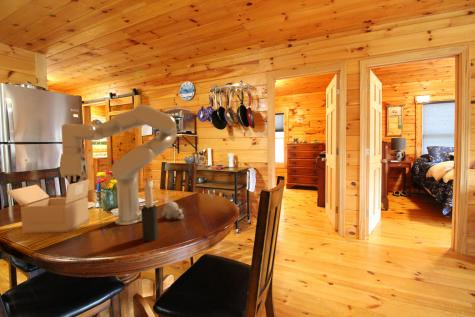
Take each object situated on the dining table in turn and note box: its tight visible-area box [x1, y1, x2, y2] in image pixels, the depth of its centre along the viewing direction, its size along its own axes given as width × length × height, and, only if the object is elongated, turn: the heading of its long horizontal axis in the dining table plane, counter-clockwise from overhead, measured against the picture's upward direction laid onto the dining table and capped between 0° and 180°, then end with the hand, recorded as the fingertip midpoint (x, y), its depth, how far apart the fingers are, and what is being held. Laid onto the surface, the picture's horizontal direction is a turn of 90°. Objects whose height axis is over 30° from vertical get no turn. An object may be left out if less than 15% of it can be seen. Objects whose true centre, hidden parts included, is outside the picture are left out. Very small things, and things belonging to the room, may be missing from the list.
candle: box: [140, 177, 159, 242], centre depth 93 cm, size 5×5×25 cm
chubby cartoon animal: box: [161, 200, 185, 220], centre depth 118 cm, size 7×12×8 cm, turn 65°
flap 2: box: [64, 179, 91, 204], centre depth 109 cm, size 8×16×1 cm
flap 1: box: [6, 184, 50, 207], centre depth 108 cm, size 8×16×1 cm
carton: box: [20, 196, 90, 234], centre depth 109 cm, size 19×17×12 cm
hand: (74, 189), depth 109 cm, fingers closed
